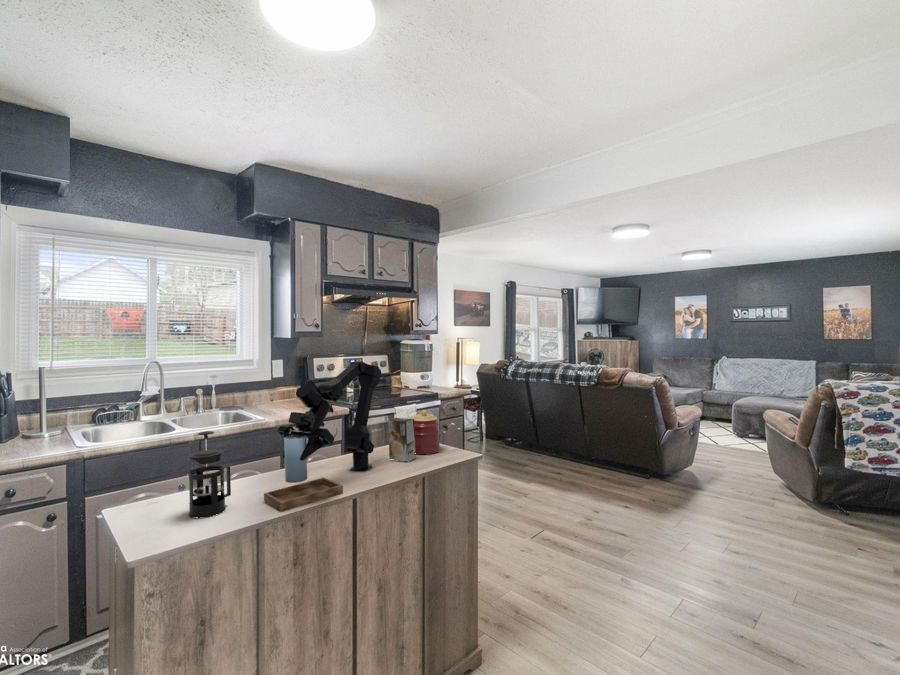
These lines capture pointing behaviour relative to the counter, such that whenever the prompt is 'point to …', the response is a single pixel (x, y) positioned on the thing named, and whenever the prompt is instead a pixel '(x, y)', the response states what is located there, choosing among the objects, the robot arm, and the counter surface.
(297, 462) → the cup
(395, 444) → the coffee box
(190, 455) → the french press
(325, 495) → the tray
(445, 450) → the counter surface
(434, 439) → the canister
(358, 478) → the counter surface
